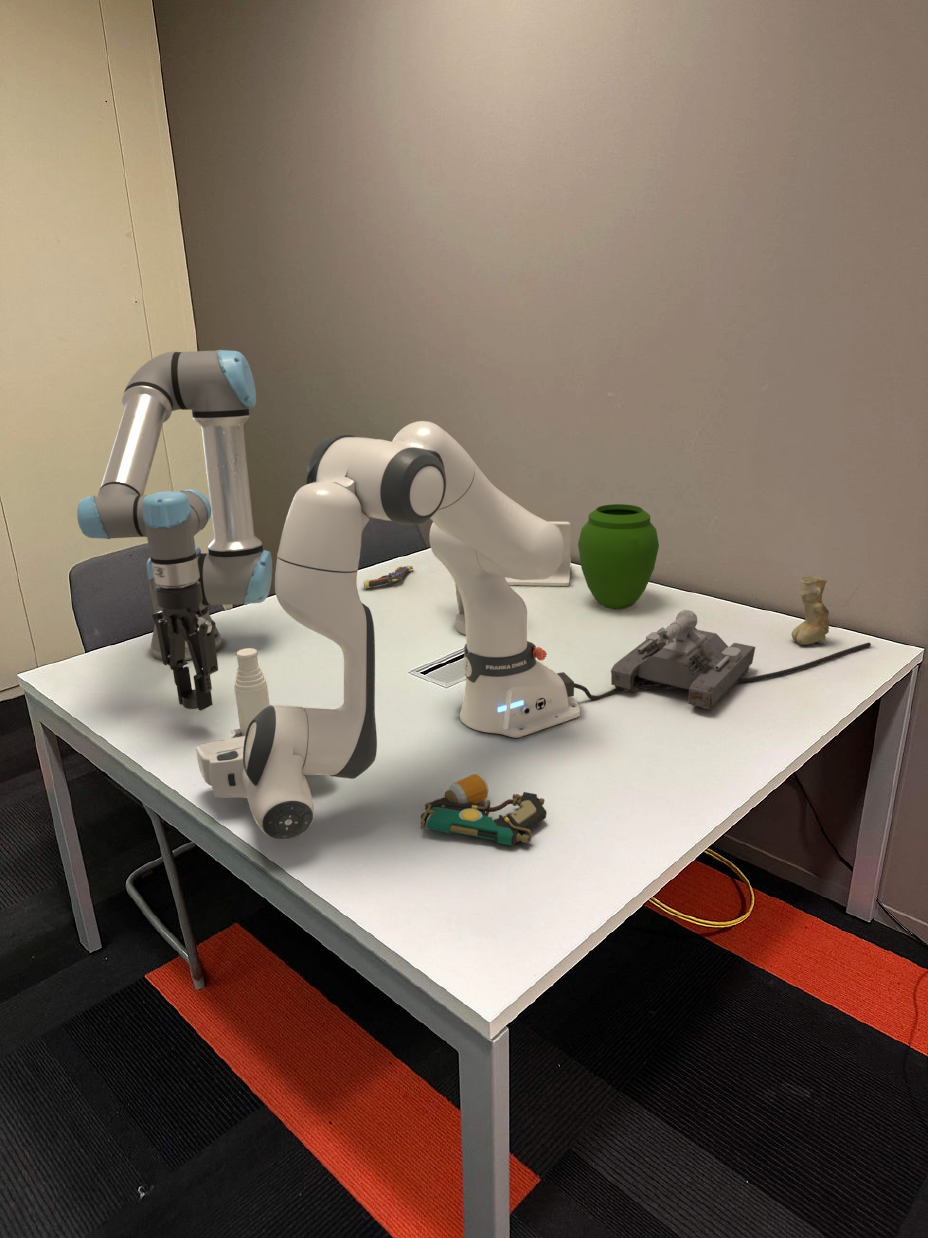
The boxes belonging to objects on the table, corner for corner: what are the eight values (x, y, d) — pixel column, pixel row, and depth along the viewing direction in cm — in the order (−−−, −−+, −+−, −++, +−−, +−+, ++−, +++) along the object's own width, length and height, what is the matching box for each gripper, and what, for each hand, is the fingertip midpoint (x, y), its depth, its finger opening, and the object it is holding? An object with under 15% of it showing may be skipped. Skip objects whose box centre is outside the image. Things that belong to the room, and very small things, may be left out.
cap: (191, 697, 158) (190, 688, 158) (212, 700, 157) (211, 690, 156) (178, 708, 154) (176, 698, 154) (199, 710, 153) (197, 700, 152)
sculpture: (787, 638, 190) (794, 574, 185) (818, 636, 191) (826, 572, 186) (799, 648, 185) (807, 582, 180) (831, 646, 186) (840, 580, 180)
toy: (661, 649, 187) (665, 584, 181) (753, 669, 176) (760, 600, 170) (609, 692, 167) (612, 620, 162) (708, 717, 156) (715, 641, 151)
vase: (599, 587, 227) (601, 497, 218) (668, 600, 216) (673, 505, 208) (562, 608, 212) (564, 513, 204) (634, 623, 202) (639, 523, 193)
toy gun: (360, 581, 230) (396, 578, 228) (380, 565, 248) (413, 562, 246) (362, 591, 231) (397, 588, 228) (381, 574, 248) (414, 571, 246)
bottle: (264, 775, 142) (250, 659, 135) (239, 769, 144) (223, 655, 136) (282, 760, 146) (269, 647, 139) (257, 755, 148) (243, 644, 141)
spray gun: (557, 816, 129) (509, 874, 118) (464, 782, 137) (410, 832, 126) (559, 793, 127) (509, 849, 116) (464, 759, 135) (409, 808, 124)
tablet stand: (569, 585, 229) (570, 524, 223) (476, 584, 232) (475, 523, 226) (570, 566, 246) (571, 508, 240) (484, 564, 249) (483, 507, 243)
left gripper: (126, 581, 149) (147, 702, 157) (196, 595, 140) (214, 723, 148) (160, 570, 155) (179, 687, 163) (229, 583, 146) (245, 706, 155)
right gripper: (333, 736, 134) (315, 701, 146) (199, 764, 127) (191, 724, 139) (337, 771, 136) (318, 733, 148) (204, 800, 129) (196, 758, 141)
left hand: (195, 704), depth 156 cm, fingers closed on cap, 4 cm apart
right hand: (255, 729), depth 144 cm, fingers closed on bottle, 5 cm apart
